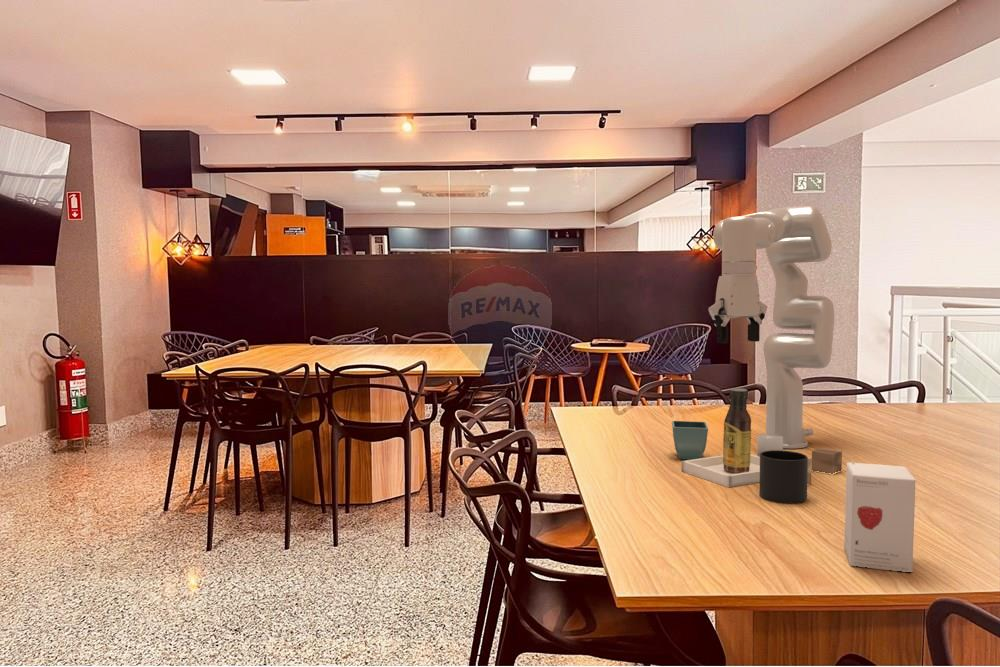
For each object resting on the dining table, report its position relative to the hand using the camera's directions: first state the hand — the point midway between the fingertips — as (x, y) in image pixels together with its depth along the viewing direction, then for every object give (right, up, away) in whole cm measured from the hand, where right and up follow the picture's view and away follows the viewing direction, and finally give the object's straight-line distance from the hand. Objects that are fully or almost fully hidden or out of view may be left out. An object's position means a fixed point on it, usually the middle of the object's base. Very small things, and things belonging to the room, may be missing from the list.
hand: (738, 342), depth 167 cm
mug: (+4, -33, -16) cm, 37 cm away
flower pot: (-7, -31, +18) cm, 37 cm away
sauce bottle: (0, -31, +2) cm, 31 cm away
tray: (0, -32, +2) cm, 32 cm away
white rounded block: (+12, -31, +12) cm, 35 cm away
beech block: (+12, -32, -6) cm, 35 cm away
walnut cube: (+23, -31, +3) cm, 39 cm away
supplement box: (+5, -35, -52) cm, 63 cm away
